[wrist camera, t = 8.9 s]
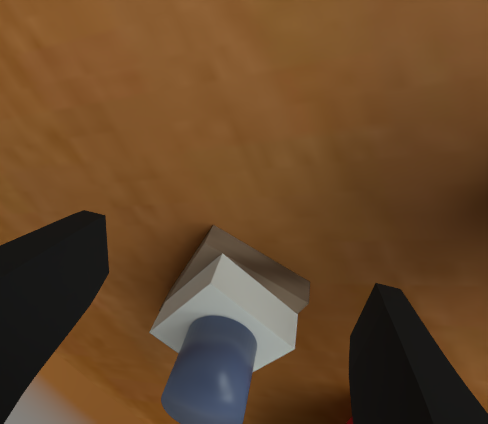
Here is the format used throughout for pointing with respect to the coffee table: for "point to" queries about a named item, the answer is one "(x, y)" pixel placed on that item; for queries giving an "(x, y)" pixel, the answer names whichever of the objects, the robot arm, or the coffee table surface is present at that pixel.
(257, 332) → the cream top block
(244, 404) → the navy rounded cylinder
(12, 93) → the coffee table surface
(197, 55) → the coffee table surface
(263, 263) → the walnut base block
